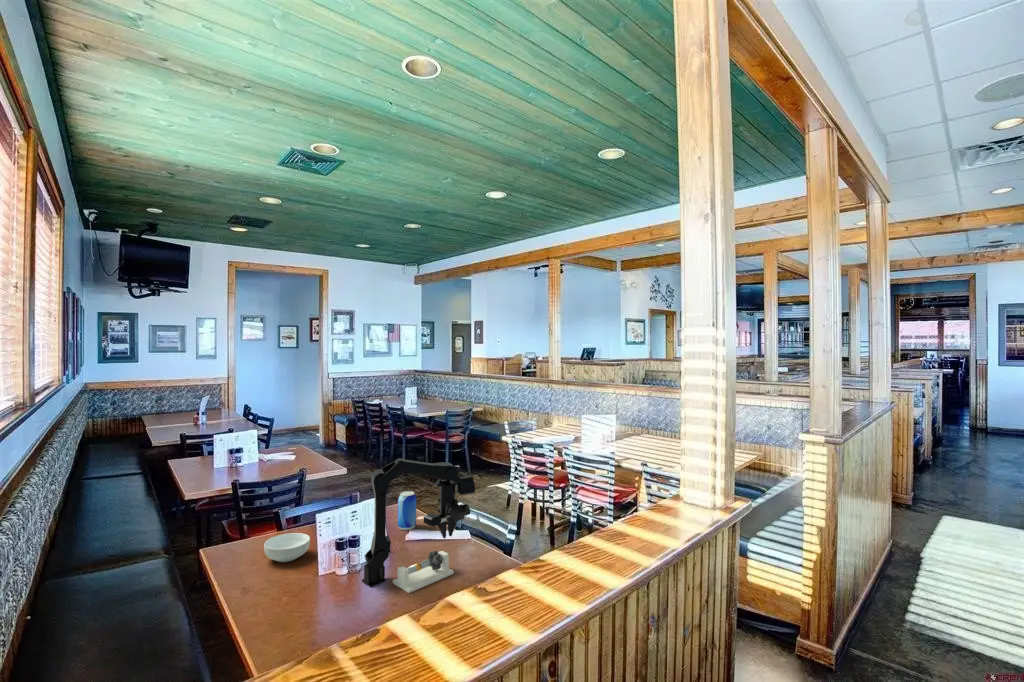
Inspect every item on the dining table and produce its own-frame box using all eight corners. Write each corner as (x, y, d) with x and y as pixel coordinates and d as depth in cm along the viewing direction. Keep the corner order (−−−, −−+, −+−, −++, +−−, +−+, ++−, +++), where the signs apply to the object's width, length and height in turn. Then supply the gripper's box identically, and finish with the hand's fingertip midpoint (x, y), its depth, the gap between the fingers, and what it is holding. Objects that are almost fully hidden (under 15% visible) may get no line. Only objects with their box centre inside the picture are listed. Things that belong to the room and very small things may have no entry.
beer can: (406, 532, 225) (406, 497, 225) (394, 528, 230) (394, 493, 230) (419, 526, 231) (420, 492, 231) (407, 522, 236) (408, 489, 236)
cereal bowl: (298, 567, 189) (298, 549, 189) (255, 567, 189) (255, 548, 189) (316, 549, 206) (316, 532, 206) (277, 548, 206) (277, 531, 206)
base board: (408, 593, 171) (408, 574, 171) (392, 583, 178) (392, 565, 178) (453, 573, 185) (453, 556, 185) (437, 565, 192) (437, 548, 192)
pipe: (405, 577, 174) (405, 570, 174) (400, 575, 176) (400, 568, 176) (445, 561, 187) (445, 554, 187) (441, 559, 189) (441, 552, 189)
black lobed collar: (438, 573, 182) (438, 554, 182) (427, 567, 187) (427, 549, 187) (442, 571, 183) (442, 553, 183) (430, 565, 188) (430, 548, 188)
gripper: (441, 507, 177) (441, 550, 177) (479, 495, 191) (479, 536, 191) (422, 500, 185) (422, 541, 185) (461, 489, 198) (460, 528, 198)
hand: (447, 537), depth 189 cm, fingers open, 3 cm apart
